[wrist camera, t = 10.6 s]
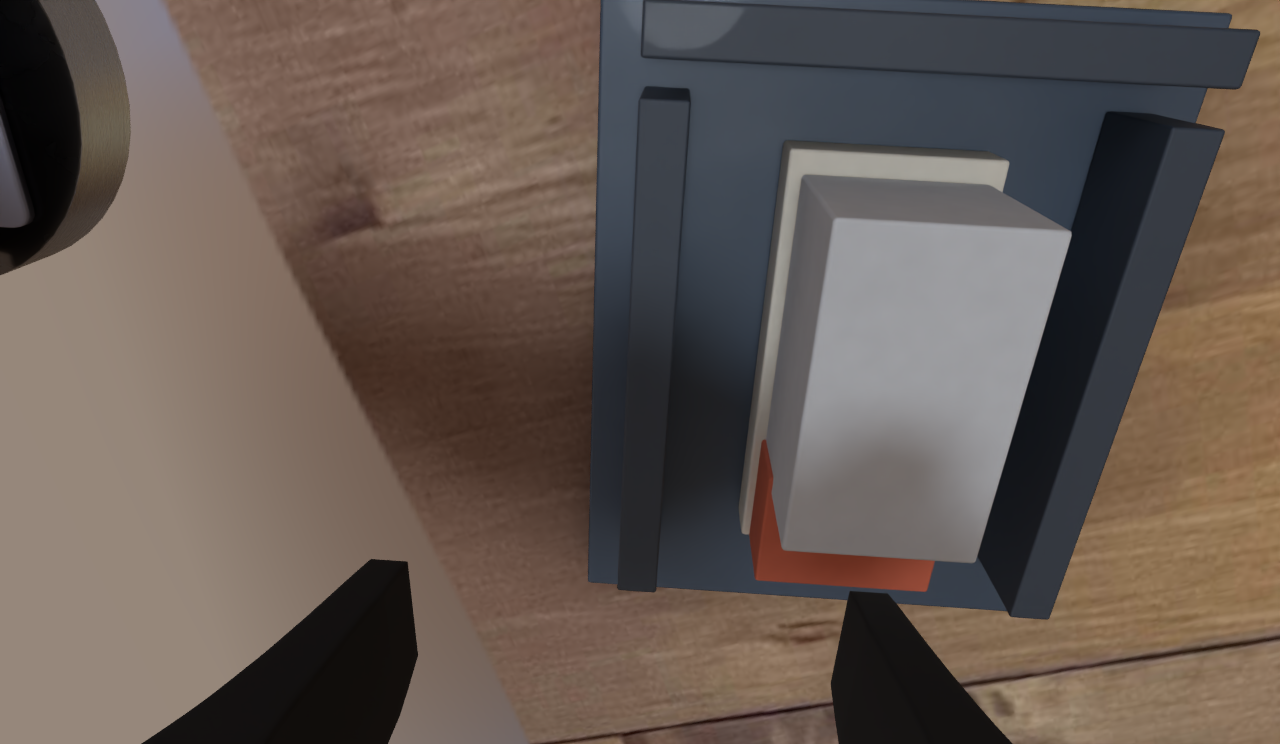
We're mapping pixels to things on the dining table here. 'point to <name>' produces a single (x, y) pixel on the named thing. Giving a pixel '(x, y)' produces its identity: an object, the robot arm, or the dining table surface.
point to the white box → (890, 361)
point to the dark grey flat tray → (886, 116)
